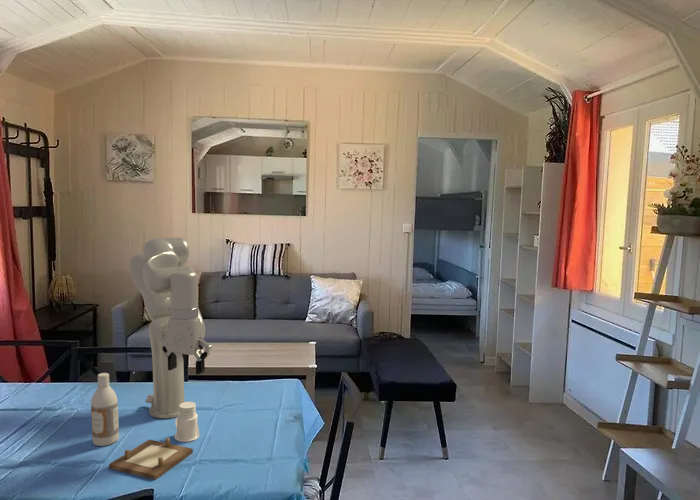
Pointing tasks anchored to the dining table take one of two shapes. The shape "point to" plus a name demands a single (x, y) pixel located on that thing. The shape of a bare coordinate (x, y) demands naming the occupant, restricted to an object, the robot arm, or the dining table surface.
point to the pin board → (151, 459)
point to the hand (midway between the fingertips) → (186, 371)
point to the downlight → (187, 422)
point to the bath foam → (104, 413)
